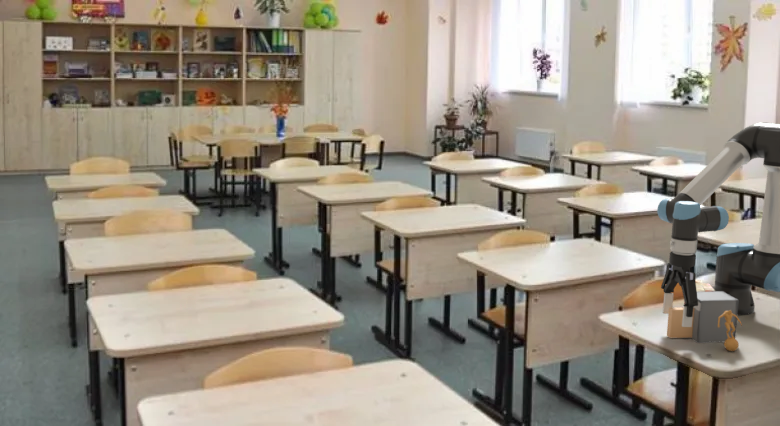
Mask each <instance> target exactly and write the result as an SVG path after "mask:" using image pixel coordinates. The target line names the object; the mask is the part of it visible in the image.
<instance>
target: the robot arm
mask: <svg viewBox="0 0 780 426" xmlns="http://www.w3.org/2000/svg"><path fill="white" fill-rule="evenodd" d="M759 158H760V159H763V167H764V168H765V169H766V170H767V173H766V180H765V189H764V190H765V192H764V200H763V207H762V215H761V222H760V232H759V241H758V243H757V244H753V243H748V242H729V243H722V244H720V245H719V246H718V248H717V255H716V260H715V261H716V263H715V264H716V265H715V274H714V275H715V276H714V286H713V289H714V290H715V291H723V292H725V293H727V294H729V295H730V296H732V297H734V298H736V299H738V300H739V304H738V315H737V316H748V315H751V314H754V313H755V309H756V308H755V306H756V305H755V301H754V298H753V293H752V287H756V288H759V289H764V290H765V291H769V292H774V293H780V123H774V122H773V123H772V122H771V123H770V122H757V123H753V124H752V125H749V126H747V127H745V128H743V129H742V130H740V131H738V132H737V133H736V134H734V135H733V136H732V137H730V138H729V139H728V140H727V141H726V142H725V143H724V145H723V149H722V150H721V151H720V153H718V155H716V156H715V157H714V158H713V160H711V161H710V162H709V163H708V164H707V165H706V166H705V167H704V168H703V169H702V170H701V171H700V172H699V173H698V174H697V175H696V176H695V177H694V178H693V179H692V180H691V181H690V182H689V183H688V184H687V185H686V186H685V187H684V188H683V189H682V190H680V192H679V193H677V195H676V196H674V197H673V198H671V197H669V198H664V199H662V200H661V201H660V202H659V203H658V206H657V215H658V218H659V219H660V220H661V221H664V222H665V223H666V222H667V223H668V224H672V227H671V239H670V241H669V245H670V253H669V258H668V263H667V268H666V269H667V270H666V272H665V275H664V277H663V280H662V283H661V286H660V288H661V290H662V291H663V293H664V294H663V305H662V306H663V307H662V314H665V315H666V314H667V315H668V314H669V308H673V304H674V295H675V294H674V292H675V288H676V287H677V285H679V287H680V288H681V293H682V295H683V296H682V297H683V301H684V300H685V304H684V303H683V307H684V309H683V319H682V327H692V317H693V307H694V306H698V298H697V290H696V283H697V282H696V276H697V275H696V273H695V272H691V268H693V267H695V266H696V259H697V257H696V253H697V248H698V238H699V237H698V236H699V233H703V232H704V233H705V232H717V231H720V230H724V229H725V228H727V226H728V224H729V221H730V220H729V219H730V216H729V213H728V211H727V209H725V207H723V206H721V205H720V206H719V205H712V206H707V205H703V203H705V202H706V201H707V200H708V199H709V198H710V197H711V196H712V195H713V194H714V192H716V191H717V189H719V188H720V187H721V186H722V185H723V184H724V183H725V182H726V181H727V180H728V179H730V177H731V176H732V175H733V174H734V173H735V172H736V171H737V170H738V169H739V168H740V167H741V166H744V165H747V164H748V163H749V162H751V161H752V160H754V159H759Z"/></svg>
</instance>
